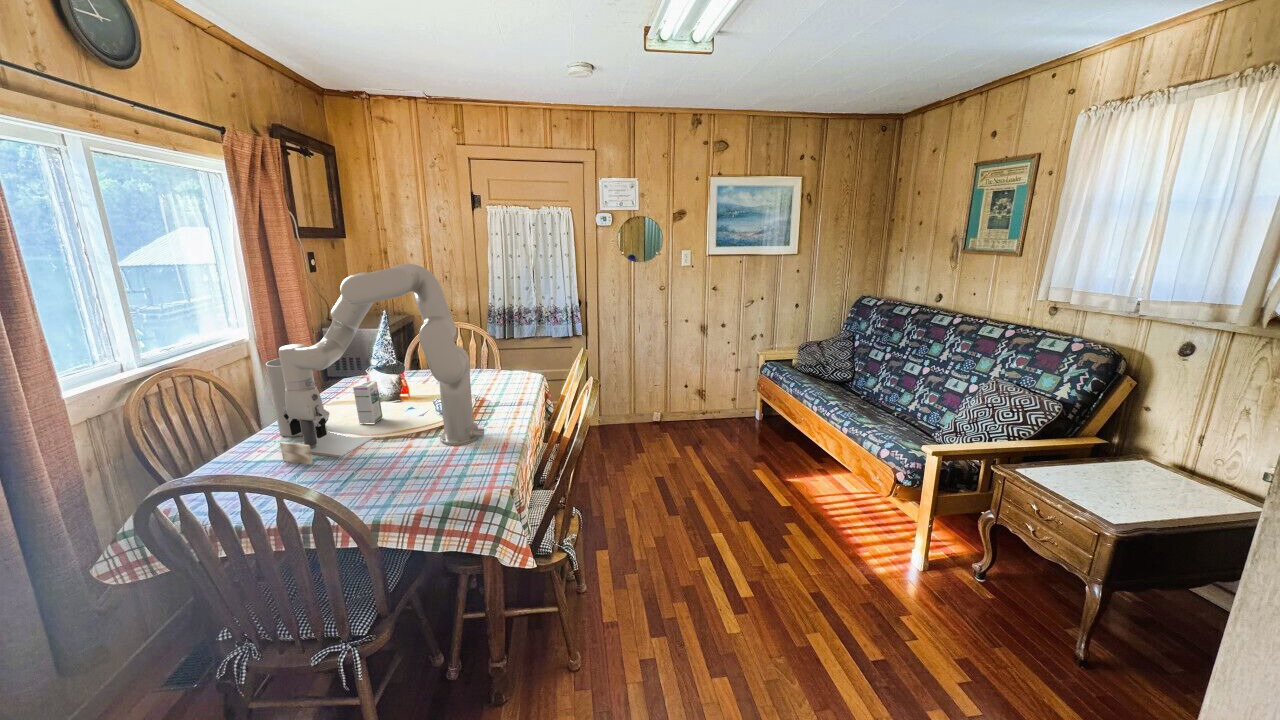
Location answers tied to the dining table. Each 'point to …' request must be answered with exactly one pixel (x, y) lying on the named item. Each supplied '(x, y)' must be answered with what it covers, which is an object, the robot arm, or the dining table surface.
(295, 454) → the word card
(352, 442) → the notepad
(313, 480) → the dining table surface
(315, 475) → the dining table surface
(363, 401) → the syrup box
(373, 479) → the dining table surface
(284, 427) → the cylinder vase
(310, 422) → the marker
